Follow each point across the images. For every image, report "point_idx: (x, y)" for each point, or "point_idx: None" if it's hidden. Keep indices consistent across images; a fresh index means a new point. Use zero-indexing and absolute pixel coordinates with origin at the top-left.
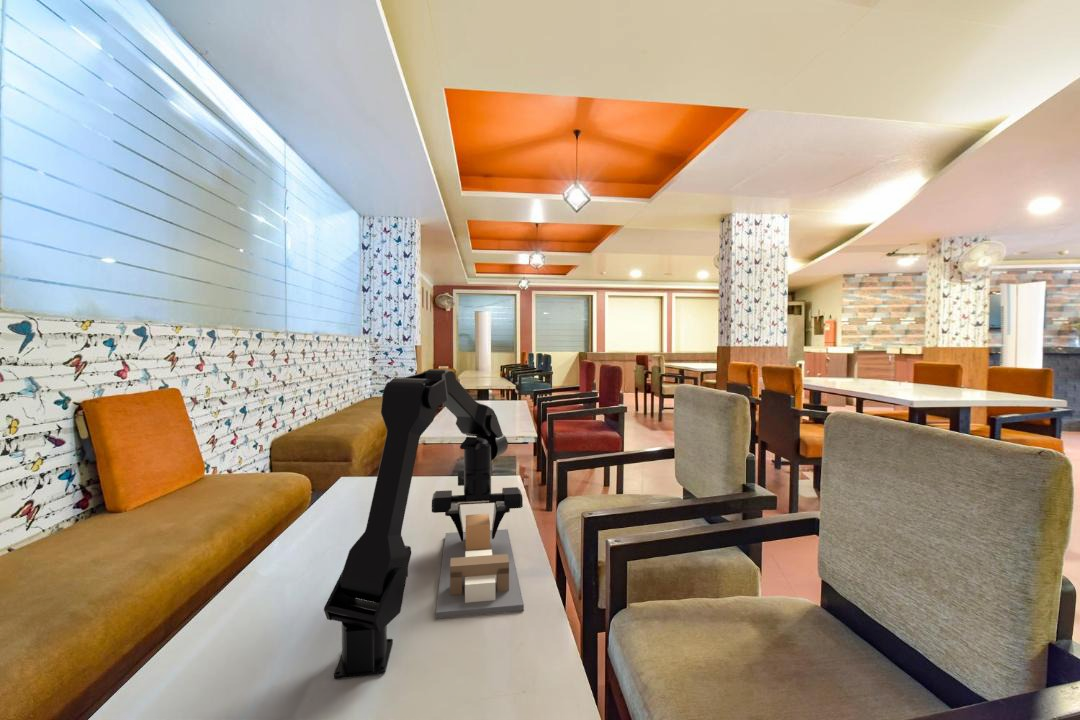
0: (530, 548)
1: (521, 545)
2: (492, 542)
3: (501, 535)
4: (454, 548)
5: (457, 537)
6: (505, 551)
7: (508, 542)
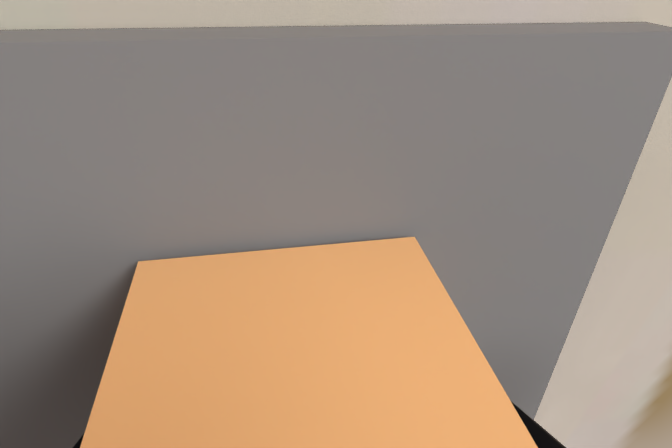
0: (663, 317)
1: (632, 278)
2: None
3: (549, 204)
4: (74, 429)
5: (11, 224)
6: None
7: (554, 328)
